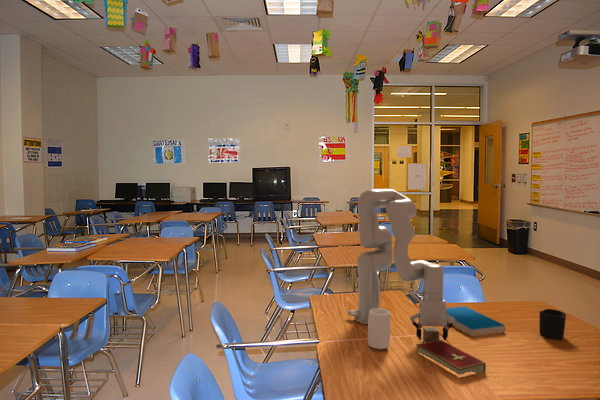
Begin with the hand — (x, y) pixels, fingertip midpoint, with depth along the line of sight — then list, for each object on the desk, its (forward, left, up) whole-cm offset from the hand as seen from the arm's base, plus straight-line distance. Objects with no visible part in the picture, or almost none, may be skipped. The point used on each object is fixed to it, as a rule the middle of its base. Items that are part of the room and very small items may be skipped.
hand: (431, 338), depth 162 cm
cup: (-21, -5, -3) cm, 22 cm away
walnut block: (0, 0, -3) cm, 3 cm away
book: (+22, +24, -3) cm, 33 cm away
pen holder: (+53, +14, -3) cm, 55 cm away
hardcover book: (+2, -15, -3) cm, 15 cm away
